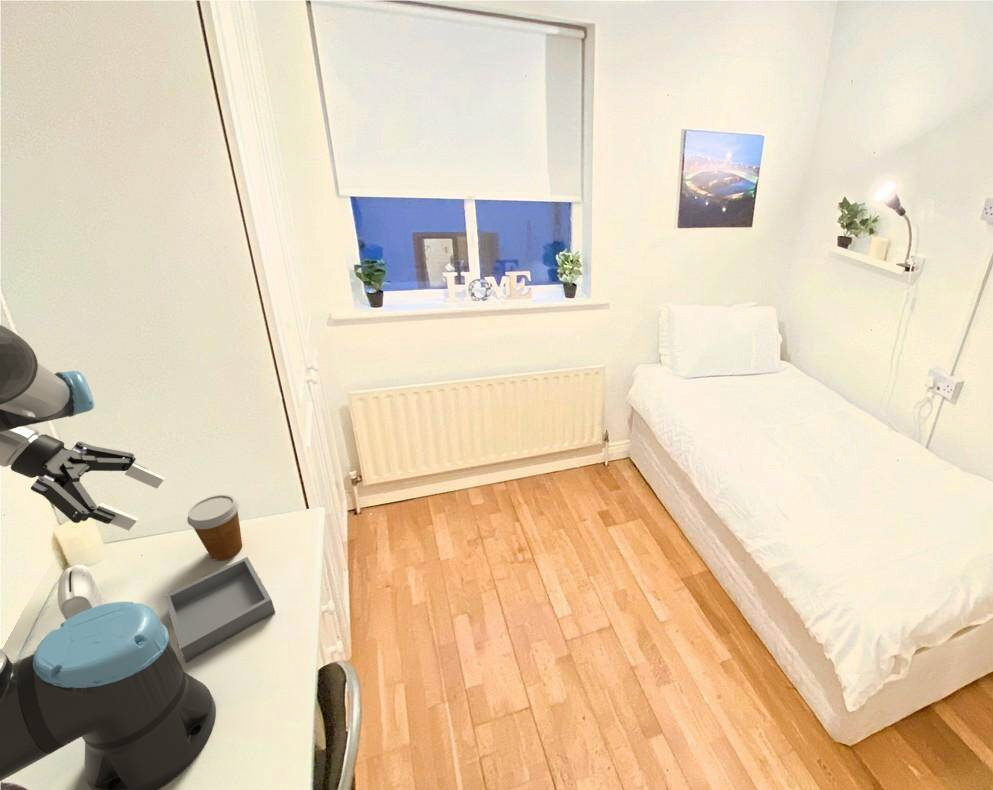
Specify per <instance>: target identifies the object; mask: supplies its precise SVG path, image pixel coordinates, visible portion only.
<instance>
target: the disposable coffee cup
mask: <svg viewBox="0 0 993 790" xmlns="http://www.w3.org/2000/svg"><path fill="white" fill-rule="evenodd" d="M239 506H240V505H239V502H238V500H237V499H236V498H235V497H233V496H231V495H228V494H215V495H212V496H209V497H208V496H207V497H206V498H204V499H203V498H202V499H201V500H199V501H198V502H196V503H195V504H193V505H192V506H191V508H190V509H189V511H188V514H187V515H188V516H187V519H186V520H187V523H188V524H189V526H190V527H192V528H193V529H194V531H195V533H196V535H197V537H198V538H199V540H200V541H201V543H202V544H203V546H204V549H206V551H207V553H208V555H209V556H210V558H211V559H212V560H214V561H220V562H221V561H225V560H229V559H231V558H233V557H234V556H236V555H238V553H239V552H241V550H242V548H243V540H242V539H243V538H242V531H241V525H240V519H239V508H240V507H239Z"/></svg>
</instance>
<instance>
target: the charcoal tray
mask: <svg viewBox="0 0 993 790" xmlns="http://www.w3.org/2000/svg"><path fill="white" fill-rule="evenodd" d="M163 597H164V601H165V603H166V606H167V610H168V614H169V617H170V620H171V624H172V626H173V630H174V633H175V636H176V640H177V642H178V643H177V644H178V646H179V649H180V651H181V654H182V656H183V658H184V661H185V663H188V662H191V661H192V660H194V659H196V658H197V657H199V656H201V655H203V654H205V653H206V652H208V651H210V650H212V649H214V648H215V647H217V646H219V645H221V644H222V643H224V642H226V641H227V640H229V639H230V638H233V637H235V636H236V635H237V634H240V633H241V632H244V631H245V630H247V629H248V628H250V627H252V626H254V625H256V624H257V623H259V622H262V619H263V620H264V618H265V619H266V618H268V617H270V616H272V615H273V614H275V613H276V610H275V607H274V603H273V600H272V598H271V596H270V594H269V593H268V590H267V589H266V587H265V585H264V584H263V582H262V580H261V578H260V576H259V575H258V573H257V571H256V570H255V568H254V566H253V565H252V562H251V561H250V558H249V557H248V556H246V557H244V558H242V559H240V560H237V561H236V562H234V563H233V562H232V563H231V564H229V565H227V566H225V567H223V568H221V569H219V570H217V571H215V572H212V573H210V574H208V575H206V576H204V577H202V578H200V579H198V580H195V581H192V582H191V583H189V584H187V585H185V586H182V587H180V588H178V589H176V590H174V591H172V592H170V593H168V594H166V595H164V596H163ZM274 612H275V613H274ZM272 613H273V614H272ZM271 614H272V615H271ZM269 615H270V616H269Z"/></svg>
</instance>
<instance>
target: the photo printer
mask: <svg viewBox="0 0 993 790" xmlns="http://www.w3.org/2000/svg"><path fill="white" fill-rule="evenodd" d="M103 604H108V603H107V601H106V599H105V597H104V595H103V593H102V591H101V589H100V588H99V585H98V583H97V582H96V579H95V577H94V576H93V574H92V572H91V570H90V569H89V568H88V567H87V566H85V565H83V564H76V565H73V566H71V567H68V568H66V569H65V570H64V572H63V573H62V574H61V575H60V579H59V581H58V585H57V605H58V609H59V611H60V613H61V614H62V617H63V618H64V621H66V620H67V619H69V618H71V617H73V616H75V615H76V614H79V613H81V612H83V611H85V610H88V609H91V608H94V607H97V606H100V605H103Z"/></svg>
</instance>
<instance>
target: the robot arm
mask: <svg viewBox="0 0 993 790" xmlns="http://www.w3.org/2000/svg"><path fill="white" fill-rule="evenodd" d="M91 391H92V390H91V388H90V385H89V384H88V382H87V380H86V378H85V375H84V374H83V373H82V372H80V371H79V370H70V371H69V370H68V371H57V372H55V373H53V372H52V371H51V370H49V369H48V368H46V367H45V366H44V365H42V364H41V363H40V362H38V357H37V355H36V352H35V351H34V350H33V348H32V347H31V345H30V344H28V342H27V341H26V340H25V339H23V338H22V337H20V335H18V334H17V333H16V332H14V331H12V330H11V329H9V328H8V327H6V326H3V325H1V324H0V467H2V468H3V467H4V468H5V467H6V468H7V467H8V466H10V469H11V470H10V471H12V472H14V473H17V474H20V475H22V476H25V477H27V478H31V479H34V478H37V477H38V478H37V479H36V480H35V482H34V483H33V484H32V485H31V487H30V491H32V492H35V493H37V494H38V495H40V496H43V497H44V498H45V499H46V500H47V501H48V502H49V503H51V504H52V505H53V506H54V507H56V509H57V510H59V511H60V512H61V513H62V514H63V515H65V517H67V518H68V519H69V521H71V522H72V523H75V524H79V523H80V522H86V521H87V520H88V519H89V518H90V519H93V520H96V521H97V522H101V523H104V524H106V525H109V524H111V525H113V526H116V527H118V528H121V529H123V530H125V531H130V530H131V528H132V527H134V525H135V524H136V523H137V522H138V520H139V517H138V516H137V517H136V516H135V515H131V514H129V513H127V512H124V511H121V510H119V509H117V508H115V507H112V506H109V505H107V504H105V503H101V502H100V504H98V506H97V503H96V502H95V501H94V500H93V499H92V497H91V496H90V494H89V492H88V491H87V490H86V488H85V487H84V485H83V484H82V483H81V480H80V479H81V477H82V476H83V475H85V473H89V472H92V471H93V472H125V473H124V475H125V476H127V477H129V478H131V479H134V480H136V481H138V482H140V483H143V484H145V485H148V486H150V487H152V488H155V489H158V488H159V487H160V486H161V484H162V483H163V482H164V480H165V479H166V477H165V476H162V475H160V474H158V473H155V472H154V471H152V470H149V468H146V467H145V466H142V465H140V464H138V463H136V460H137V458H136V457H135V454H133V453H132V452H127V451H122V450H117V449H111V448H105V447H100V446H94V445H91V444H89V443H85V442H83V441H77V442H76V444H75V445H73V447H72V448H71V449H67V448H66V447H65V442H64V441H62V440H60V439H58V438H55V437H53V436H51V435H48V434H45V433H44V434H40V431H39V430H38V429H36V428H33V427H31V426H32V425H36V424H40V423H45V422H49V421H54V420H59V419H63V418H67V417H69V418H70V417H74V416H76V415H80V414H83V413H87V412H90V411H92V410H93V409H94V408H95V401H94V397H93V394H92V392H91ZM169 637H170V636H169V632H168V628H167V626H165V625H164V623H163V622H162V621H161V620H160V618H159V617H158V615H157V613H156V612H155V611H154V610H153V609H152V608H151V607H149V606H148V605H145V604H143V603H139V602H138V603H136V602H135V603H134V602H133V601H115V602H114V601H113V602H109V603H107V604H103V605H100V606H97V607H94V608H91V609H88V610H85V611H83V612H81V613H79V614H76V615H75V616H73V617H71V618H69V619H67V620H64V621H63V622H61V623H60V627H59V628H56V629H52V630H51V631H50V632H48V634H47V635H46V636H45V637H44V638H42V640H41V641H40V643H39V644H38V645H37V648H36V650H35V652H34V653H33V654H31V655H29V656H27V657H24V658H22V659H20V660H17V661H15V662H11V660H10V659H9V657H8V655H7V654H6V653H5V651H4V650H3V649H2V648H0V782H2V781H4V780H5V779H7V778H9V777H11V776H13V775H15V774H16V773H18V772H20V771H22V770H23V769H25V768H27V767H29V766H31V765H33V764H34V763H36V762H38V761H40V760H42V759H44V758H46V757H48V756H49V755H51V754H53V753H54V752H57V751H58V750H59V749H61V748H63V747H66V746H68V745H69V744H71V743H73V742H74V741H76V740H78V739H80V738H82V739H83V741H84V776H85V779H86V782H87V784H88V786H89V787H90V788H91V790H159V789H161V788H162V787H164V786H165V785H168V784H169V783H170V782H171V781H172V780H174V779H176V777H178V776H179V775H180V774H181V773H182V772H183V771H184V770H186V768H187V767H189V765H190V764H191V763H192V762H193V761H194V760H195V758H197V756H198V755H199V753H201V751H202V750H203V748H204V746H205V745H206V743H207V741H208V740H209V738H210V735H211V733H212V731H213V728H214V725H215V722H216V717H217V707H216V702H215V700H214V698H213V695H212V693H211V691H210V689H209V688H208V687H207V685H206V684H204V683H203V682H202V681H200V680H198V679H197V678H195V677H193V676H192V675H190V674H189V673H187V672H186V671H185V670H184V668H183V666H182V664H181V662H180V660H179V658H178V655H177V654H176V651H175V650H174V649H175V648H174V647H173V645H172V642H171V640H170V638H169Z"/></svg>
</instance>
